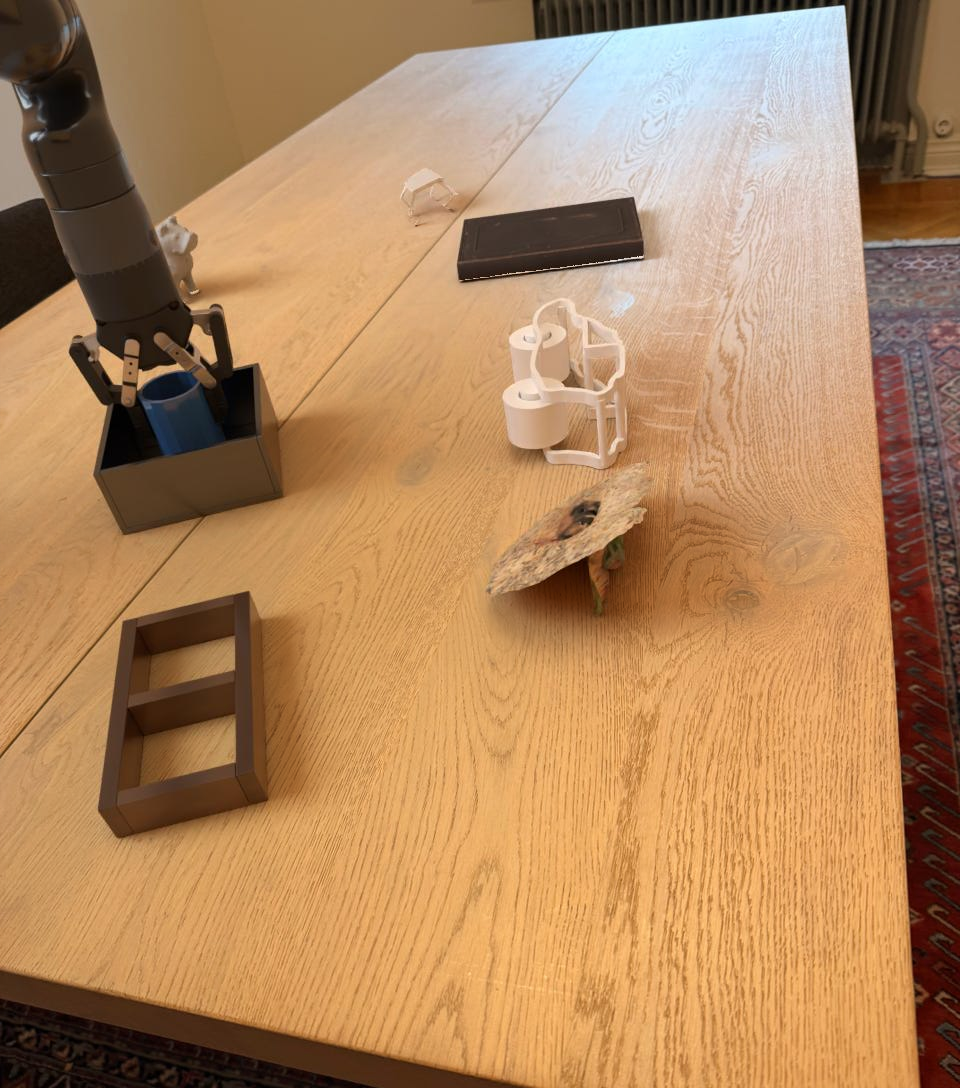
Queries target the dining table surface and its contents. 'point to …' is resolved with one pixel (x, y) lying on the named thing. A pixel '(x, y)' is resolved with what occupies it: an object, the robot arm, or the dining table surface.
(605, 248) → the hardcover book
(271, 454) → the open box
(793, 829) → the dining table surface
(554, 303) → the toilet paper holder
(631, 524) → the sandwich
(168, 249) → the dog figurine
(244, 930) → the dining table surface
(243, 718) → the rack
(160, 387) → the cup
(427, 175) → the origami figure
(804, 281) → the dining table surface
